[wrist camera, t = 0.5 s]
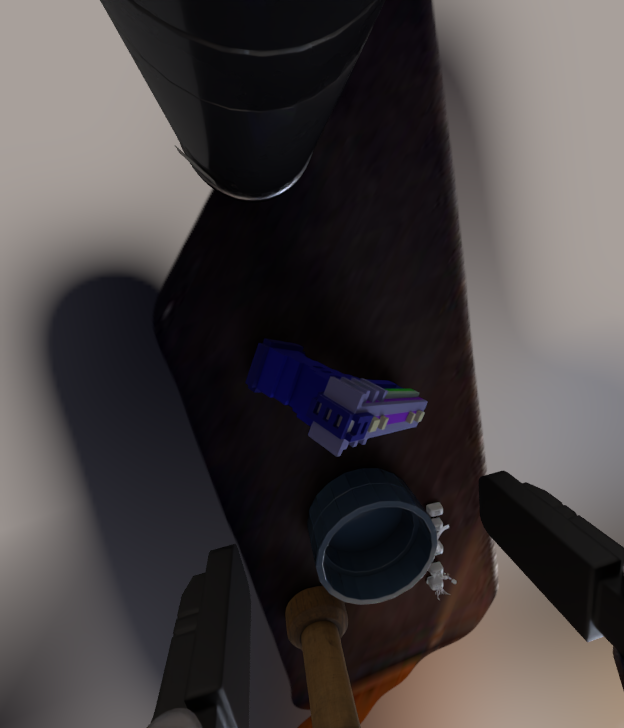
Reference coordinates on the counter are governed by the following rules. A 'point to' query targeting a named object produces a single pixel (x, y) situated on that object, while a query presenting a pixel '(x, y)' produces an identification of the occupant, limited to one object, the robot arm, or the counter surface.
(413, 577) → the blue bowl
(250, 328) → the counter surface
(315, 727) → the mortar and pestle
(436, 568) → the figurines set
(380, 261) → the counter surface
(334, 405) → the toy gun
